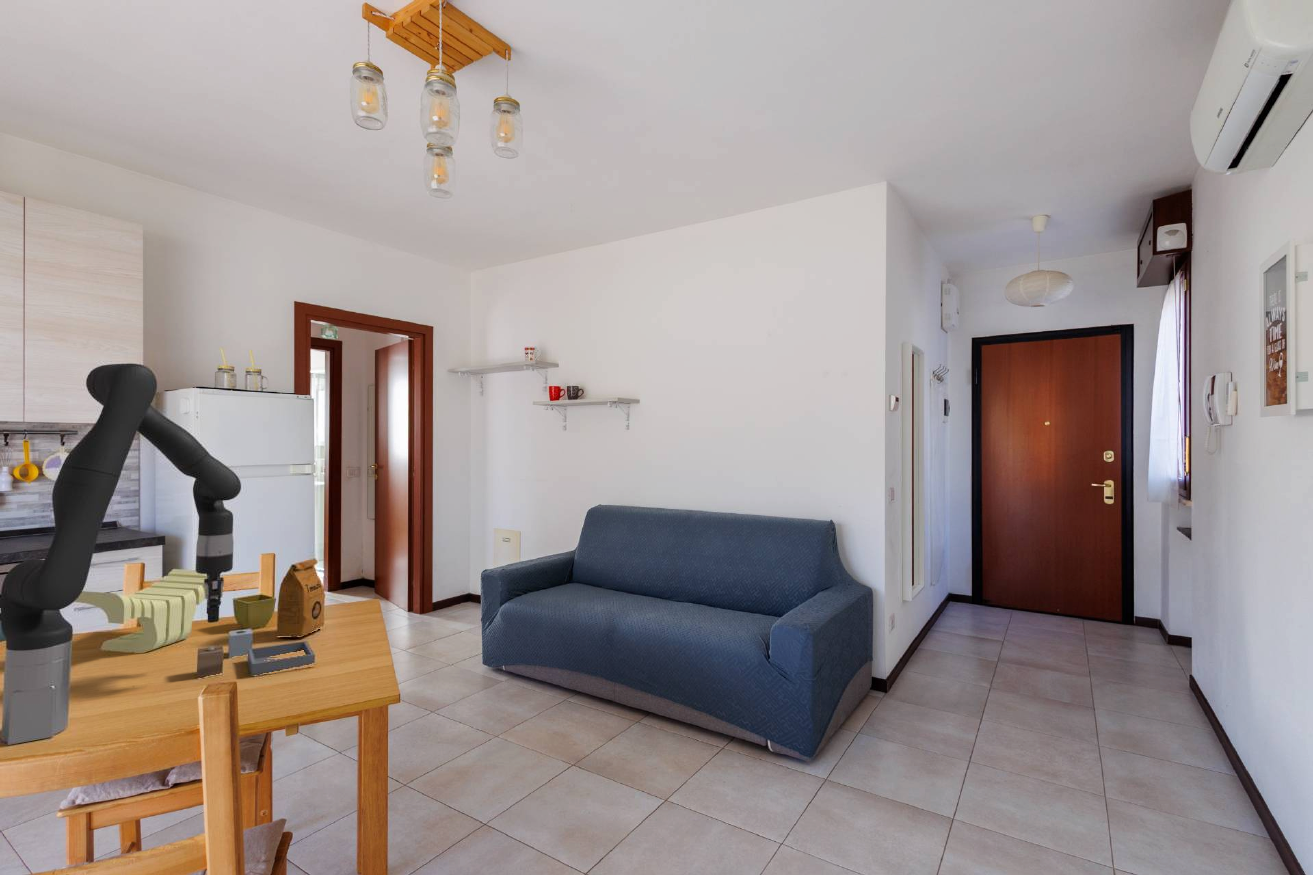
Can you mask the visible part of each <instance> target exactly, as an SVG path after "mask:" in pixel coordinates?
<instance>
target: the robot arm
mask: <svg viewBox="0 0 1313 875" xmlns="http://www.w3.org/2000/svg"><path fill="white" fill-rule="evenodd" d="M85 385H86V389H87V391H88V393H89V395H90V397H92V398H93V399H94V400H95V401H96V402H97V403H99V404H100V405H101V406H103V407H102V409H101V412H100V414H99V416H98V418H97V419H96V421H95V423H94V425H93V426H92V427H91V428H90V430H89V431H88V432H87V433H86V434H85V435H84V436H83V437H82V439H80V441H79V442H78V443H77V444H76V445H75V446H74V447H73V448H72V450H71V451H70V452H69V453H68V455H67V456H66V458H65V459H64V461H63V463H62V464H61V468H60V470H59V472H58V475H57V477H56V480H55V482H54V485H53V488H52V493H51V495H52V497H51V500H52V501H51V502H52V503H51V504H52V511H53V519H54V533H53V538H52V540H51V543H50V546H49V548H48V551H47V553H46V556H45V558H44V559H42V558H41V559H38V558H37V559H35V558H34V559H29V560H25V561H22V562H20V563H18V564H16V565H14V566H13V567H12V568H11V569H10V570H9V571H8V572H7V574H6V575H5V577H4V579H3V581H2V585H1V589H0V590H1V591H0V629H1V633H2V634H3V636H4V639H5V644H6V645H5V659H4V660H5V661H4V675H3V676H4V678H3V692H2V693H3V695H2V696H3V697H2V711H1V712H2V714H1V731H0V739H1V741H2V742H4V743H6V745H8V746H9V745H10V746H11V745H16V744H21V743H26V742H32V741H37V740H38V741H39V740H44V739H49V738H53V737H54V736H55V735H56V734H58V733H60V732H62V731H64V730H66V728H68V726H69V710H70V708H69V707H70V692H71V691H70V690H71V687H70V686H71V672H72V671H71V670H72V669H71V668H72V667H71V666H72V665H71V664H72V653H73V652H72V649H73V635H74V634H73V633H74V632H73V631H74V629H73V625H72V623H70V622H69V621H67V620H66V619H65V617H64V616H63V615H62V612H61V610H62V609H65V608H67V607H69V606H71V605H72V604H73V603H75V602H74V601H75V600H76V599H77V598H78V597H79V595H80V594H81V593H82V591H84V588H85V586H86V583H87V580H88V576H89V573H90V568H91V564H92V559H93V555H94V551H95V547H96V544H97V539H98V537H99V534H100V531H101V528H102V525H103V523H104V519H105V517H106V514H107V510H108V508H109V506H110V503H111V501H112V498H113V496H114V494H115V491H116V488H117V486H118V483H119V481H120V477H121V474H122V470H123V468H124V465H125V462H126V460H127V458H128V455H129V453H130V450H131V448H132V444H133V442H134V439H135V436H136V434H137V433H138V434H140V435H141V436H142V437H144V438H145V439H146V440H147V441H149V443H151V444H152V445H153V446H154V447H155V448H156V449H157V450H158V452H159V451H160V452H161V454H162V455H163V456H164V457H165V458H166V459H168V461H169V462H170V463H171V464H172V465H173V466H174V467H175V468H176V469H177V470H178V471H179V472H181V473H182V474H183V475H185V476H187V477H190V478H193V479H195V480H194V482H193V487H192V495H193V500H194V504H195V508H196V513H197V516H198V528H197V529H198V532H197V540H196V547H195V548H196V550H195V554H196V555H195V570H196V572H197V573H199V574H207V579H204V588H205V598H206V599H205V600H206V615H207V623H209V624H211V623H217V622H219V621H220V606H221V604H222V601H221V600H222V597H223V587H224V585H225V579H224V576H223V577H221V574H222V573H227V572H230V571H232V570H233V568H234V565H233V564H234V535H233V534H234V533H233V531H234V514H233V512H232V511H230V510H229V509H227V508H226V507H225V506H224V501H230V500H233V499H235V498H237V496H239V494H240V493H241V489H242V483H241V480H240V478H239V476H238V475H237V474H236V473H235V471H233V470H232V469H231V468H230V467H228V466H227V465H225V463H223V462H221V461H220V460H218V459H217V458H215V457H214V456H212V455H211V454H210V452H208V450H207V449H206V448H205V446H203V444H201V443H200V441H198V440H197V438H196V437H195V436H193V434H191V433H190V432H188V430H186V429H185V428H183V427H182V426H180V425H179V424H177V423H176V422H174V421H172V420H171V419H169V418H168V417H167V416H165V415H163V414H162V413H161V412H160V411H158V410H157V409H156V408H154V406H153V405H152V402H153V401H154V399H155V397H156V394H157V389H158V382H157V378H156V376H155V373H154V372H153V371H152V370H151V369H150V368H149V367H148V366H145V365H144V364H140V363H139V364H138V363H132V362H131V363H113V364H112V363H111V364H102V365H98V366H97V367H95V368H93V369H92V370H91V371H90V372H89V373H88V375H87V377H86V381H85Z"/></svg>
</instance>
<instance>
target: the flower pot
mask: <svg viewBox="0 0 1313 875" xmlns="http://www.w3.org/2000/svg"><path fill="white" fill-rule="evenodd" d="M276 602H277V597H274V596H271V595H268V594H263V593H261V594H260V593H259V594H252V595H247V596H240V597H236V598H232V605H233V606H232V608H233V616H234V618H235V620H236V622H237V623H236V624H238V626H239V627H240V628H242V629H245V628H246V629H251V628H255V629H258V628H257V627H260V628H262V627H261V626H265V627H266V626H267V625H268V624H269V623H270V621H271V619H272V617H273V614H274V611H275V606H276Z"/></svg>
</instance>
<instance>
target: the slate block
mask: <svg viewBox="0 0 1313 875" xmlns="http://www.w3.org/2000/svg"><path fill="white" fill-rule="evenodd" d="M228 632H229V633H228V648H227V649H228V650H227V651H228V652H227V654H229V655H228V659H229V658H231V659H233V658H232V657H234V656H243V655H247V654H248V649H251V648H253V633H254V632H253V629H245V628H243V629H239V630H231V631H228Z"/></svg>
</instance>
